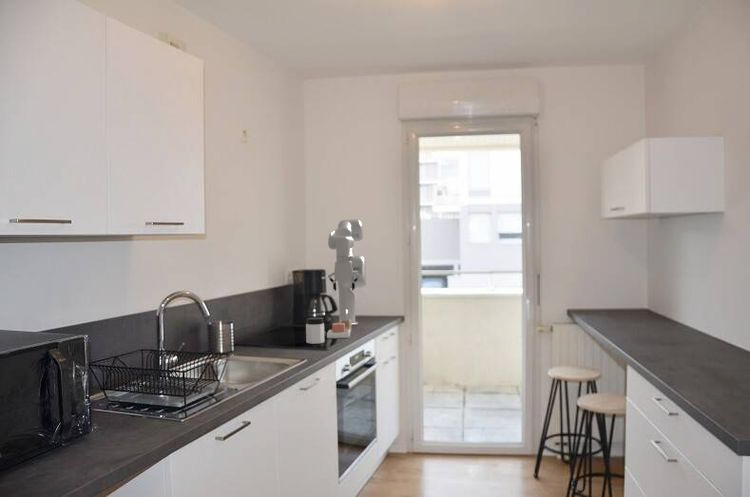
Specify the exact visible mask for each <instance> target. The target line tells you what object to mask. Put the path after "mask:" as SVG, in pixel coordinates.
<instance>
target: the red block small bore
mask: <svg viewBox="0 0 750 497" xmlns="http://www.w3.org/2000/svg"><path fill="white" fill-rule="evenodd" d="M331 330H332V332H333V333H343V332H345V323H338V322H336V323H335V322H334V323H332V328H331Z"/></svg>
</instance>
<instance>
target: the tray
mask: <svg viewBox="0 0 750 497" xmlns="http://www.w3.org/2000/svg"><path fill="white" fill-rule="evenodd" d="M350 336H351V332H350V330H345V332H343V333H333V332H332V329H329V330H327V332H326V339H349V338H350Z"/></svg>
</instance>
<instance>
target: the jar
mask: <svg viewBox="0 0 750 497" xmlns="http://www.w3.org/2000/svg"><path fill="white" fill-rule="evenodd" d="M305 335H306V336H305V338H306V341H305V342H306V344H310V345H312V344H313V345H315V344H318V345H319V344H323V343H325V323H324V317H307V318H306V323H305Z"/></svg>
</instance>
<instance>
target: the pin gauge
mask: <svg viewBox="0 0 750 497" xmlns="http://www.w3.org/2000/svg"><path fill="white" fill-rule="evenodd" d="M343 321H348V310H343Z"/></svg>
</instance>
